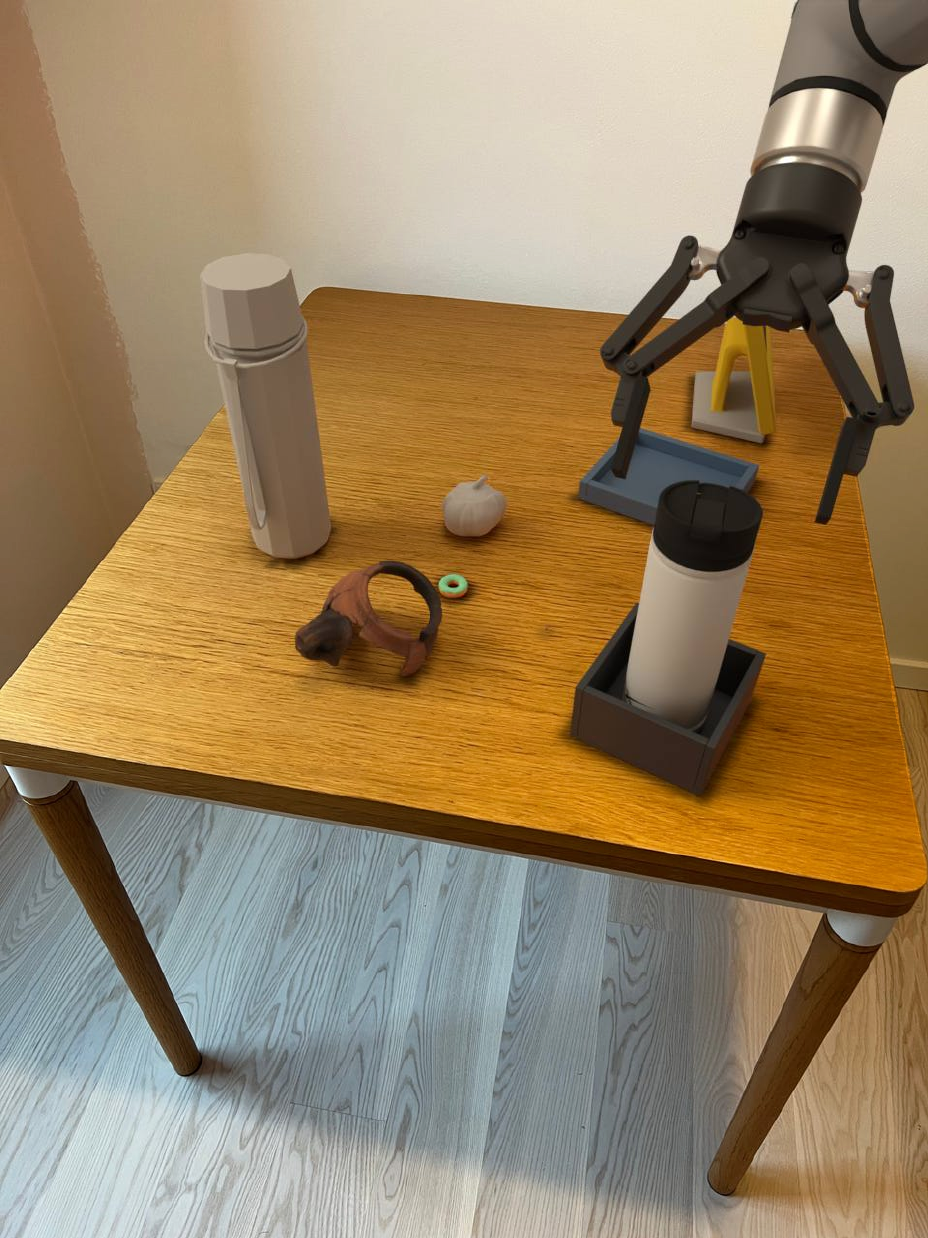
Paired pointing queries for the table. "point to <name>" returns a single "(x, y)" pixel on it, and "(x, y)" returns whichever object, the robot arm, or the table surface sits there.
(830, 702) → the table surface
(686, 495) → the travel mug
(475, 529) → the garlic
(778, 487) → the table surface
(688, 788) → the dark grey open box
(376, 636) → the animal head ring
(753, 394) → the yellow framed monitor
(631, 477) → the tray
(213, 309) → the water bottle
